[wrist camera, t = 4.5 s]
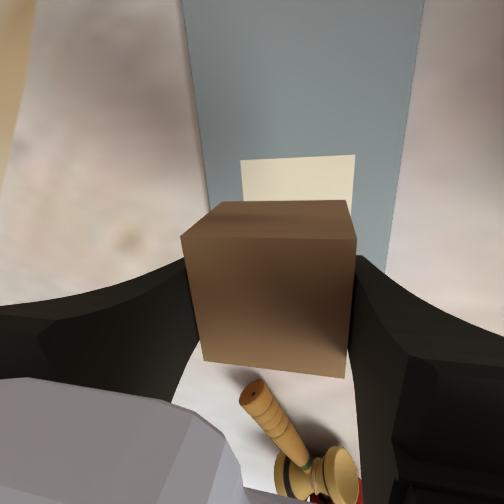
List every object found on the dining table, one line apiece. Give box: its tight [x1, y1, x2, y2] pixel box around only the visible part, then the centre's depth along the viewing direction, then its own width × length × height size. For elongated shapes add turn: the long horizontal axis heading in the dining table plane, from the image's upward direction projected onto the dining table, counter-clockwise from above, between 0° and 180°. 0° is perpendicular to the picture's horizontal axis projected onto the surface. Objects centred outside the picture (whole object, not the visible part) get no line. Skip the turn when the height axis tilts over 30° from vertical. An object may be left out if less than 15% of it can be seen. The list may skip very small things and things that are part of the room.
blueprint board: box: [182, 0, 424, 274], centre depth 16 cm, size 24×12×1 cm, turn 4°
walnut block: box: [180, 200, 357, 379], centre depth 11 cm, size 5×5×4 cm
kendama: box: [239, 380, 363, 504], centre depth 27 cm, size 8×6×18 cm
